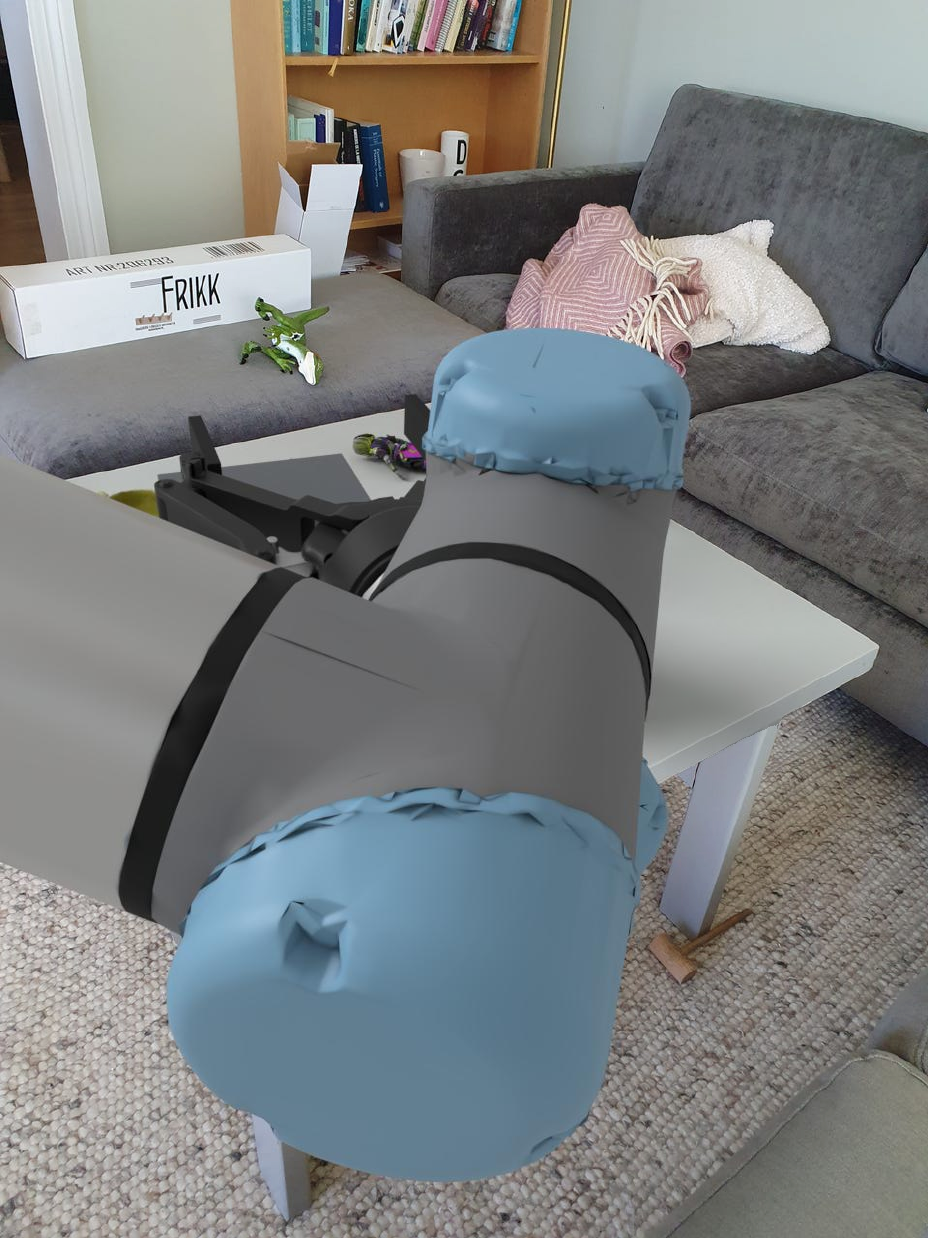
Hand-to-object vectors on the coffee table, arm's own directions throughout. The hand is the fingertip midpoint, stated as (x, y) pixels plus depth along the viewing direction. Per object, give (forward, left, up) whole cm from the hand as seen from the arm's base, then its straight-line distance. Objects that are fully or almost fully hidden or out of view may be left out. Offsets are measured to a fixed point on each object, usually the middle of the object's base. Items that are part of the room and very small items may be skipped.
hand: (307, 424), depth 57 cm
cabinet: (-5, +18, -29) cm, 35 cm away
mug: (-20, +29, -30) cm, 46 cm away
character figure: (+11, +53, -30) cm, 62 cm away
